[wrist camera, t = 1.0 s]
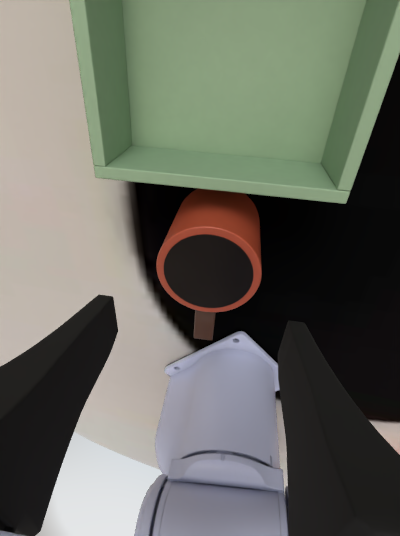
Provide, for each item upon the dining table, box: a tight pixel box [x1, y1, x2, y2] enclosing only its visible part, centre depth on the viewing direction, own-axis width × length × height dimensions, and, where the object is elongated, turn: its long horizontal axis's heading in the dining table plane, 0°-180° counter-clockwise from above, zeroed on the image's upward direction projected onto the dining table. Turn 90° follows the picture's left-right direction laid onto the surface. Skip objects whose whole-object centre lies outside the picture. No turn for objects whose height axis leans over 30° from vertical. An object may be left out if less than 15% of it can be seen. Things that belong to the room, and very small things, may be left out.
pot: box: [157, 188, 262, 340], centre depth 19 cm, size 8×5×6 cm, turn 177°
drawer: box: [69, 0, 400, 204], centre depth 12 cm, size 13×12×4 cm
